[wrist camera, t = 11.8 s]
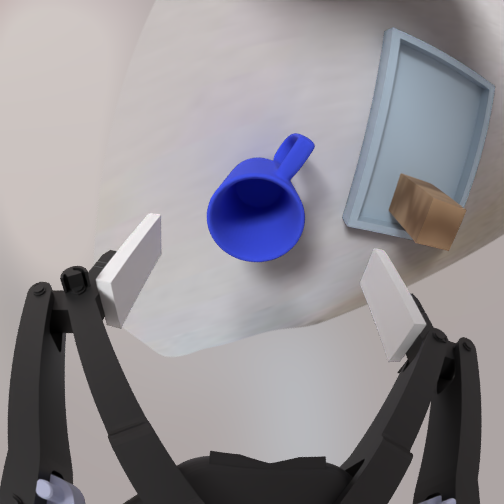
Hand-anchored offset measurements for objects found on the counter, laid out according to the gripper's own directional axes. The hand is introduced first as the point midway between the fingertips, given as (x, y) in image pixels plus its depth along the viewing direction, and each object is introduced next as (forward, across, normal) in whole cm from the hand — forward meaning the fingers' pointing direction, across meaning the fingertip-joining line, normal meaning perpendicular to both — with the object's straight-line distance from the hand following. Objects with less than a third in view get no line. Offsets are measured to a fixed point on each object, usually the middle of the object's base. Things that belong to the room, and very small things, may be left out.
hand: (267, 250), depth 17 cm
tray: (+17, +18, +8) cm, 26 cm away
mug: (+17, 0, 0) cm, 17 cm away
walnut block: (+16, +18, +1) cm, 24 cm away
